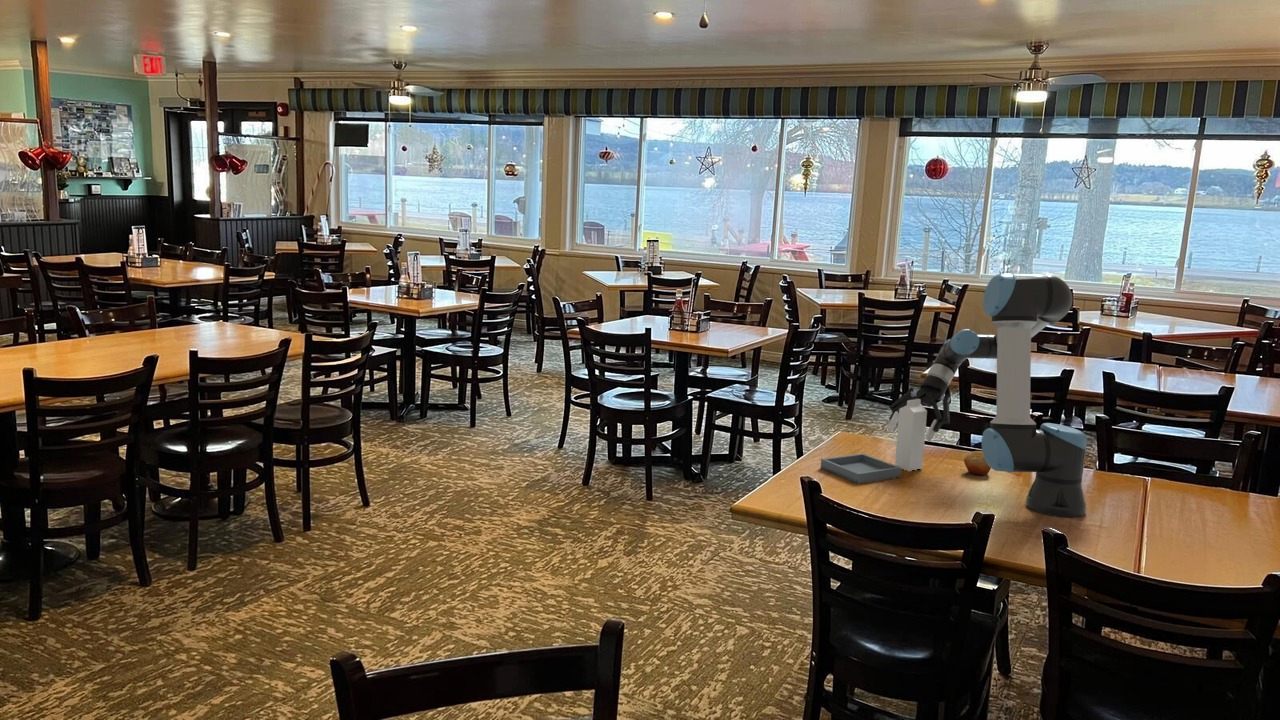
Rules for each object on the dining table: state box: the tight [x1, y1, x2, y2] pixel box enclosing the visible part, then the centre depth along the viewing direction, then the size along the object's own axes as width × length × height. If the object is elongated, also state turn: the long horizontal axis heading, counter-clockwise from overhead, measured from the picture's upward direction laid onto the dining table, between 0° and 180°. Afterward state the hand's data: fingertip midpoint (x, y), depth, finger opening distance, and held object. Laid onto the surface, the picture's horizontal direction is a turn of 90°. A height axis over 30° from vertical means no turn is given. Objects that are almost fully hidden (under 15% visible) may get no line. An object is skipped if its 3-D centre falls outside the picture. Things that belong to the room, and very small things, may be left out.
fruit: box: [963, 450, 992, 476], centre depth 290 cm, size 8×8×8 cm
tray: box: [820, 453, 902, 485], centre depth 287 cm, size 17×17×3 cm
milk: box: [894, 399, 928, 472], centre depth 292 cm, size 6×6×22 cm
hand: (908, 434), depth 291 cm, fingers open, 13 cm apart
